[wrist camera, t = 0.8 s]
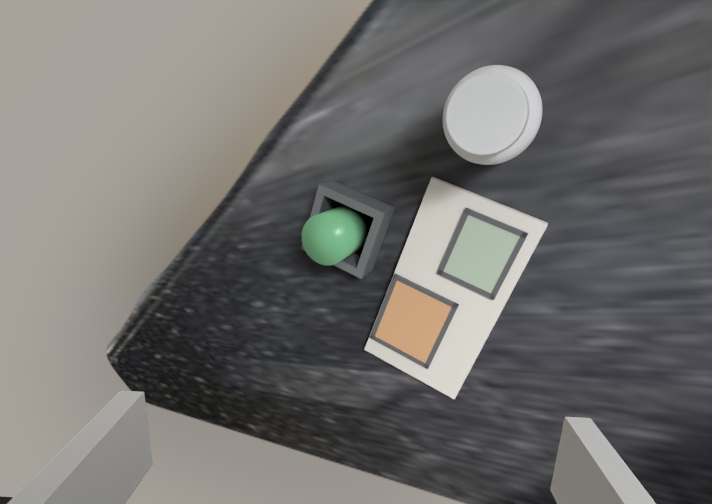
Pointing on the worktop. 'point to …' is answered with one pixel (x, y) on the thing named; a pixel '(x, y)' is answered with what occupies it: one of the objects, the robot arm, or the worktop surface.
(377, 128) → the worktop surface
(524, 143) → the pill bottle
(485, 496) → the worktop surface
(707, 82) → the worktop surface
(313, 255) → the button
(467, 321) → the white rectangular board
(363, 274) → the button frame
